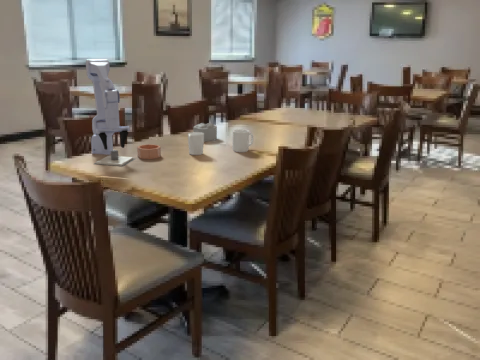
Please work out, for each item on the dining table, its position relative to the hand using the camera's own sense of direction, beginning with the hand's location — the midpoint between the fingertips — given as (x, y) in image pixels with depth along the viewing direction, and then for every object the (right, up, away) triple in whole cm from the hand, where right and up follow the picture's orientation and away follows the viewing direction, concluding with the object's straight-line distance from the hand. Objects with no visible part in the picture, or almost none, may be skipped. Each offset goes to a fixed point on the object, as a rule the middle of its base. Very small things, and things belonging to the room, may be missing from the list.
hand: (114, 148), depth 202 cm
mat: (0, -6, +2) cm, 7 cm away
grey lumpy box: (+37, +9, +53) cm, 65 cm away
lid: (0, -6, +2) cm, 6 cm away
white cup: (+34, -1, +21) cm, 40 cm away
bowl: (+13, -3, +12) cm, 18 cm away
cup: (+58, +1, +30) cm, 65 cm away
